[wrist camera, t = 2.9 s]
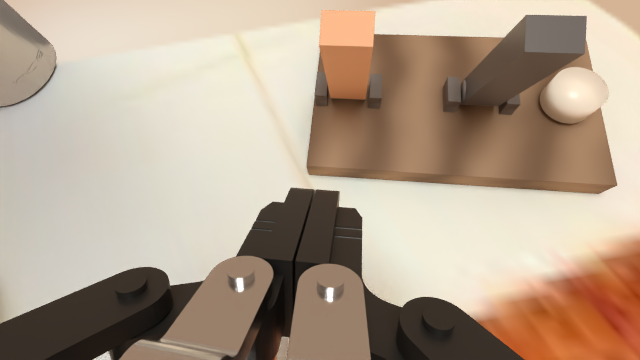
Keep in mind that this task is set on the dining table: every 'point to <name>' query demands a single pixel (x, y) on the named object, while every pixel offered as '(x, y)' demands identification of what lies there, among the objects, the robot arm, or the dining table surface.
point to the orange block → (347, 51)
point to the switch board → (452, 125)
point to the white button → (573, 95)
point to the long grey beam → (525, 58)
